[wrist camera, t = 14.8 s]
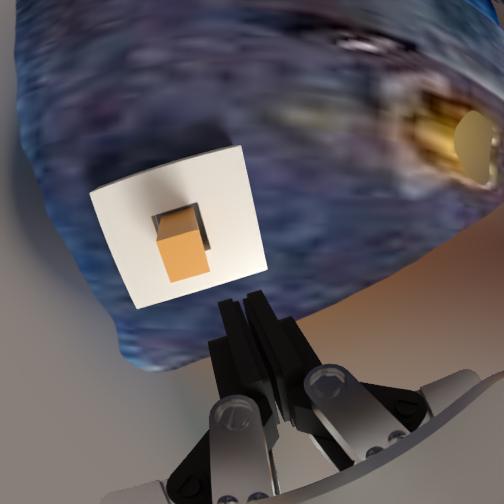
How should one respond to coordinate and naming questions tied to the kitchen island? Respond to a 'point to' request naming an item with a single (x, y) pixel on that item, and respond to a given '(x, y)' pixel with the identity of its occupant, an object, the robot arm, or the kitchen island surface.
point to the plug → (181, 245)
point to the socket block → (173, 200)
